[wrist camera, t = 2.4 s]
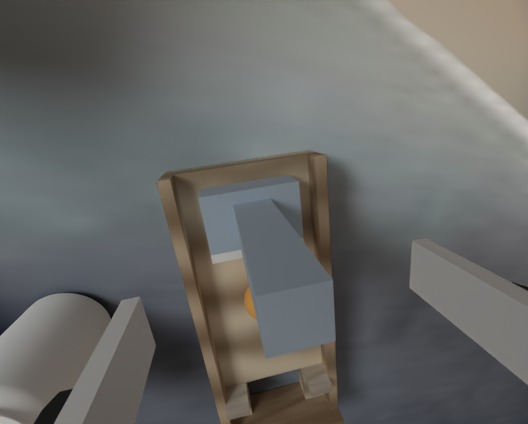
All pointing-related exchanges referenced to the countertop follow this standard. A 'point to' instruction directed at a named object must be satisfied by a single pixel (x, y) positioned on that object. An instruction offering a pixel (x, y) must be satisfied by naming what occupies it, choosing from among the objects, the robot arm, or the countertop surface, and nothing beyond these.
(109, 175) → the countertop surface
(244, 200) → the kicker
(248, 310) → the ball
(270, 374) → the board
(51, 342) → the beverage can
